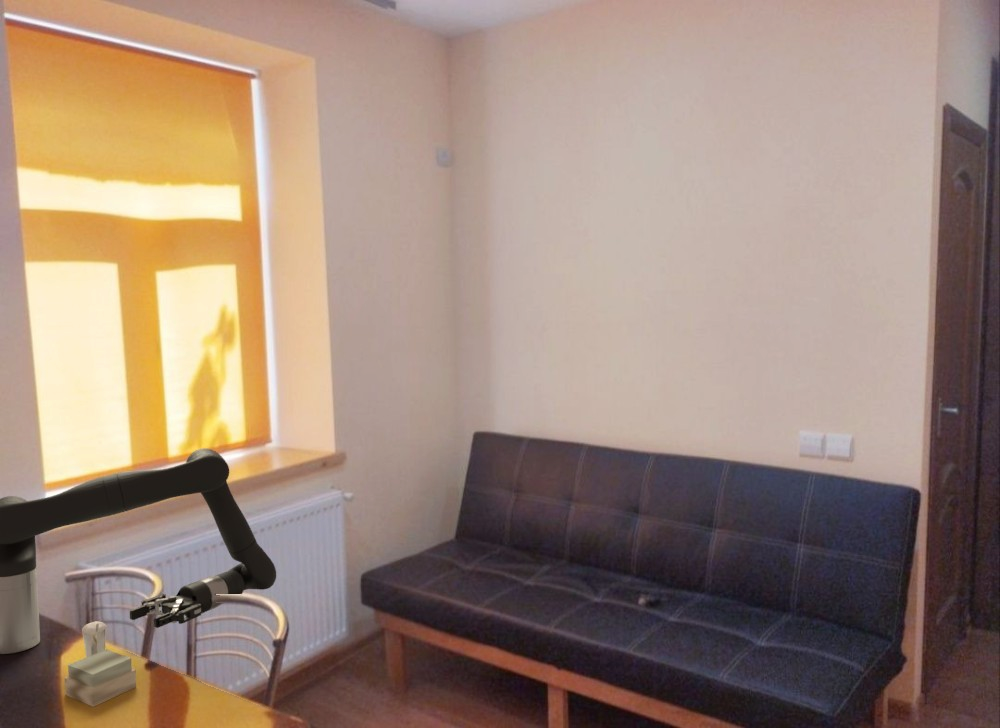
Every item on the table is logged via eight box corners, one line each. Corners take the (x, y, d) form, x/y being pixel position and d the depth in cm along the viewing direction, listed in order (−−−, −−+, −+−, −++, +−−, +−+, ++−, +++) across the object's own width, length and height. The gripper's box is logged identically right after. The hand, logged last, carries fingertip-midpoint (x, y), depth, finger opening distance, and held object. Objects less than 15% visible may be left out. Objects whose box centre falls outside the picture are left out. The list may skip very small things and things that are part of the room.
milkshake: (87, 673, 163) (85, 626, 162) (81, 664, 167) (79, 618, 166) (111, 667, 166) (109, 621, 165) (104, 658, 170) (102, 613, 169)
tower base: (65, 695, 154) (64, 665, 154) (108, 676, 162) (107, 647, 162) (93, 706, 150) (91, 676, 149) (136, 686, 157) (134, 657, 157)
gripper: (183, 575, 193) (122, 597, 179) (222, 585, 186) (162, 609, 172) (184, 605, 193) (123, 629, 180) (224, 616, 186) (163, 642, 172)
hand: (142, 619), depth 176 cm, fingers open, 8 cm apart
